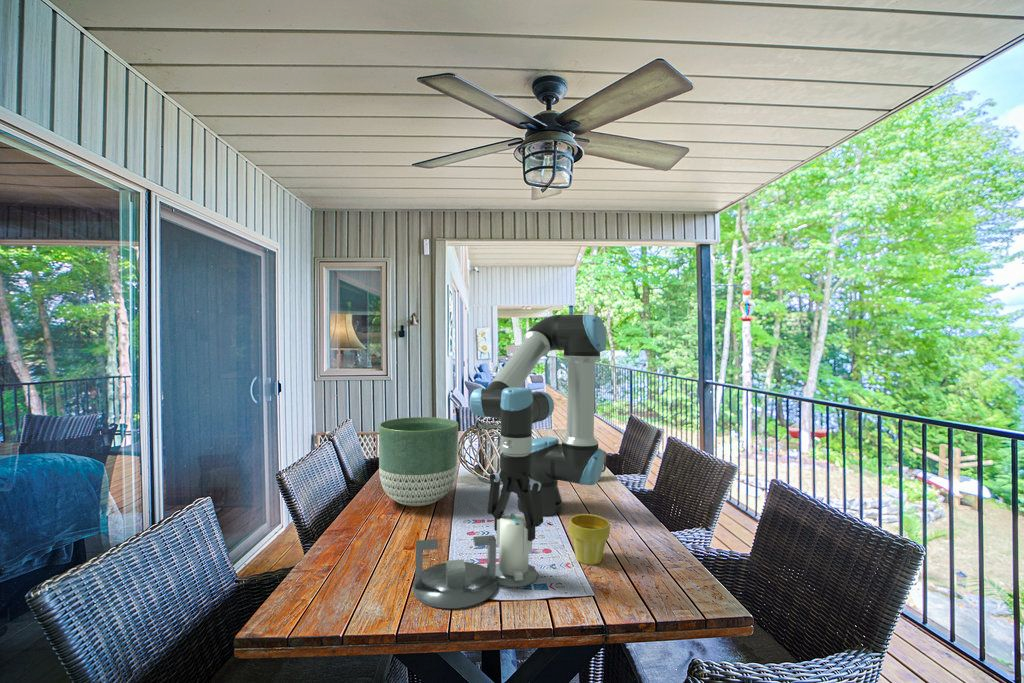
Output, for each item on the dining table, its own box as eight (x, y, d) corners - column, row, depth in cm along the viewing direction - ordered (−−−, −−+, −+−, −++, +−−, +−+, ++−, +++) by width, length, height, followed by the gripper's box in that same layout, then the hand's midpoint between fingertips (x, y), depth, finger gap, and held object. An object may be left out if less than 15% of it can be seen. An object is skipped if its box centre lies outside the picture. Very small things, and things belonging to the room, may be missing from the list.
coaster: (530, 562, 116) (530, 559, 116) (541, 585, 106) (542, 581, 106) (487, 566, 114) (487, 562, 114) (494, 589, 103) (494, 586, 103)
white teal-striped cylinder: (495, 557, 115) (495, 510, 115) (522, 555, 116) (523, 508, 116) (503, 581, 104) (504, 528, 103) (533, 579, 105) (534, 526, 105)
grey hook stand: (489, 562, 116) (490, 521, 116) (504, 604, 98) (505, 556, 98) (413, 568, 112) (413, 526, 112) (412, 613, 94) (413, 563, 94)
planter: (360, 509, 151) (362, 426, 151) (407, 485, 175) (408, 414, 175) (431, 522, 141) (432, 434, 141) (470, 495, 166) (471, 420, 166)
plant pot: (611, 553, 122) (612, 516, 122) (606, 571, 112) (607, 531, 112) (573, 547, 126) (573, 511, 126) (564, 564, 116) (565, 525, 116)
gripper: (473, 449, 112) (471, 544, 112) (544, 462, 101) (542, 567, 101) (491, 444, 118) (489, 533, 118) (560, 456, 108) (558, 554, 108)
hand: (514, 548), depth 110 cm, fingers closed on white teal-striped cylinder, 7 cm apart
